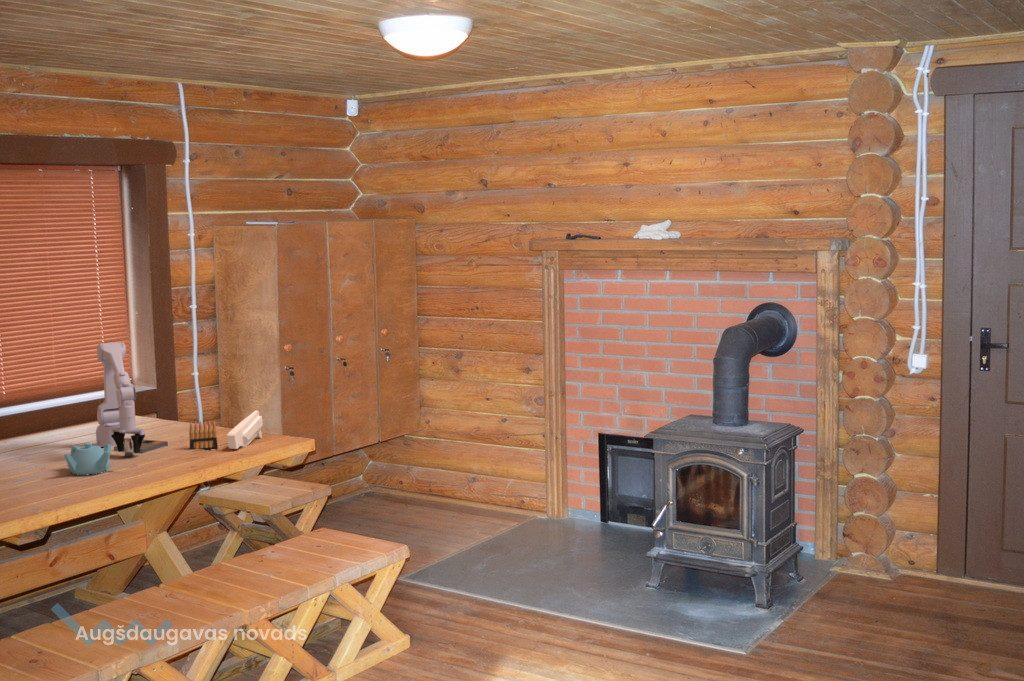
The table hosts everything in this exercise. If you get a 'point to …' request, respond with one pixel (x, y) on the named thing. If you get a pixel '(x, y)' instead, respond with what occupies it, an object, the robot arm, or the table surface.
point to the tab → (129, 457)
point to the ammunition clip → (203, 436)
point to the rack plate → (148, 445)
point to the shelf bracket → (245, 431)
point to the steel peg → (128, 447)
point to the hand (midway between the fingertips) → (129, 452)
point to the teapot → (88, 459)
